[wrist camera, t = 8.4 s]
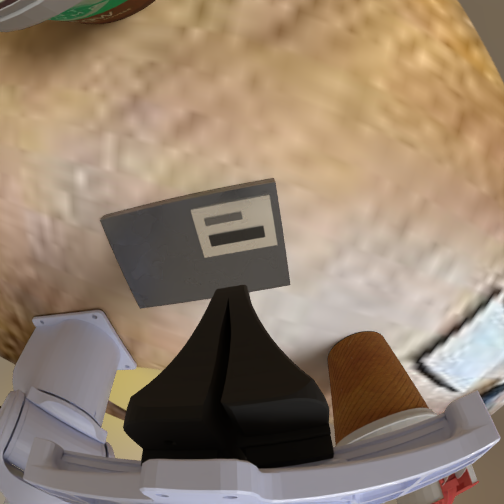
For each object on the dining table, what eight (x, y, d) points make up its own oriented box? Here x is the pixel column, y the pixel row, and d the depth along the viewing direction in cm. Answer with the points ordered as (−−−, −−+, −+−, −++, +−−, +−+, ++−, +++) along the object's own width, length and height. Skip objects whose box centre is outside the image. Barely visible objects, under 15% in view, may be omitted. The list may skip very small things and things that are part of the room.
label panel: (142, 302, 24) (139, 310, 23) (104, 215, 20) (98, 222, 19) (288, 278, 23) (290, 287, 22) (273, 178, 19) (275, 183, 18)
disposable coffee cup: (351, 306, 25) (399, 427, 15) (415, 331, 28) (462, 425, 18) (293, 370, 29) (311, 478, 19) (359, 384, 32) (385, 473, 22)
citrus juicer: (468, 396, 40) (505, 482, 23) (433, 436, 49) (457, 508, 32) (397, 420, 40) (428, 523, 23) (371, 456, 49) (390, 536, 32)
